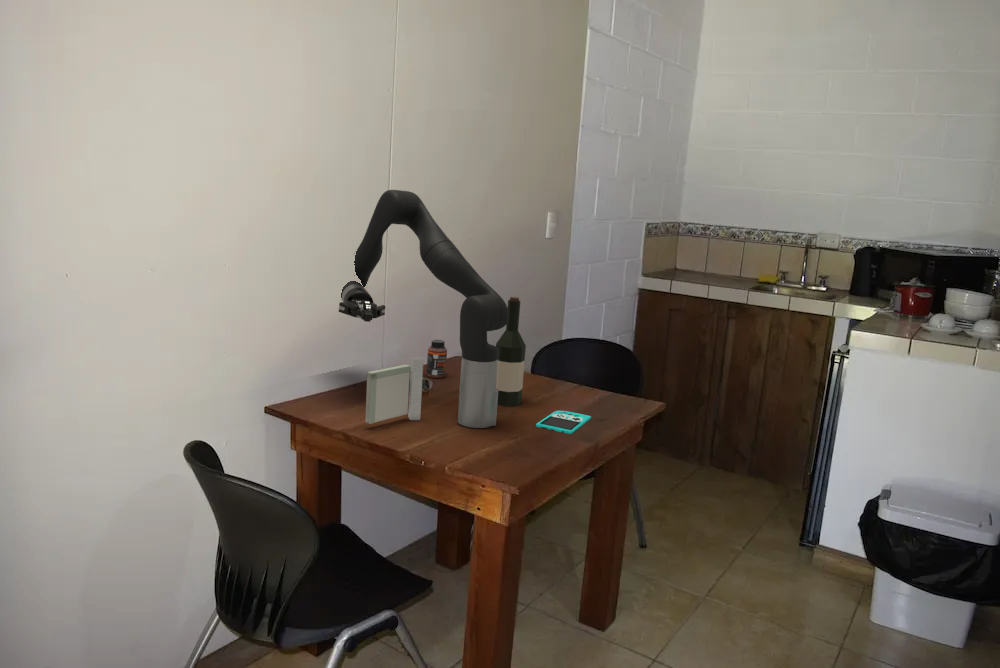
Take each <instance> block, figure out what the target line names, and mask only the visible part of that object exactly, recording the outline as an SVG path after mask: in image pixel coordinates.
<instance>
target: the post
mask: <svg viewBox="0 0 1000 668" xmlns="http://www.w3.org/2000/svg"><path fill="white" fill-rule="evenodd" d="M423 373H424V359H423V357H422V356H411V357H410V374H409V394H408V414H407V417H408V419H409V420H410V421H420V420H421V413H422V412H421V411H422V393H423Z"/></svg>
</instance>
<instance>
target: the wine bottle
mask: <svg viewBox="0 0 1000 668" xmlns="http://www.w3.org/2000/svg"><path fill="white" fill-rule="evenodd" d="M507 308H508V312H509V319H508V322H507V324H506V325H505V330H504V332H503V333H502V334H501V336H500V338H499V339H498V340H497V341H496V343H495V346H496V347H497V348H498V351H499V353H498V367H497V381H496V388H497V389H498V403H497V406H502V407H503V406H504V407H516V406H517V407H518V406H519V405H520V404H522V398H523V397H522V395H523V384H524V375H525V374H524V371H525V370H524V369H525V361H526V359H525V358H526V343H525V341H524V340H523V337H522V336H521V334H520V332H519V324H520V323H519V322H520V313H521V312H520V311H521V300H520V297H518V296H510V297H509V299H508V300H507Z"/></svg>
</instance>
